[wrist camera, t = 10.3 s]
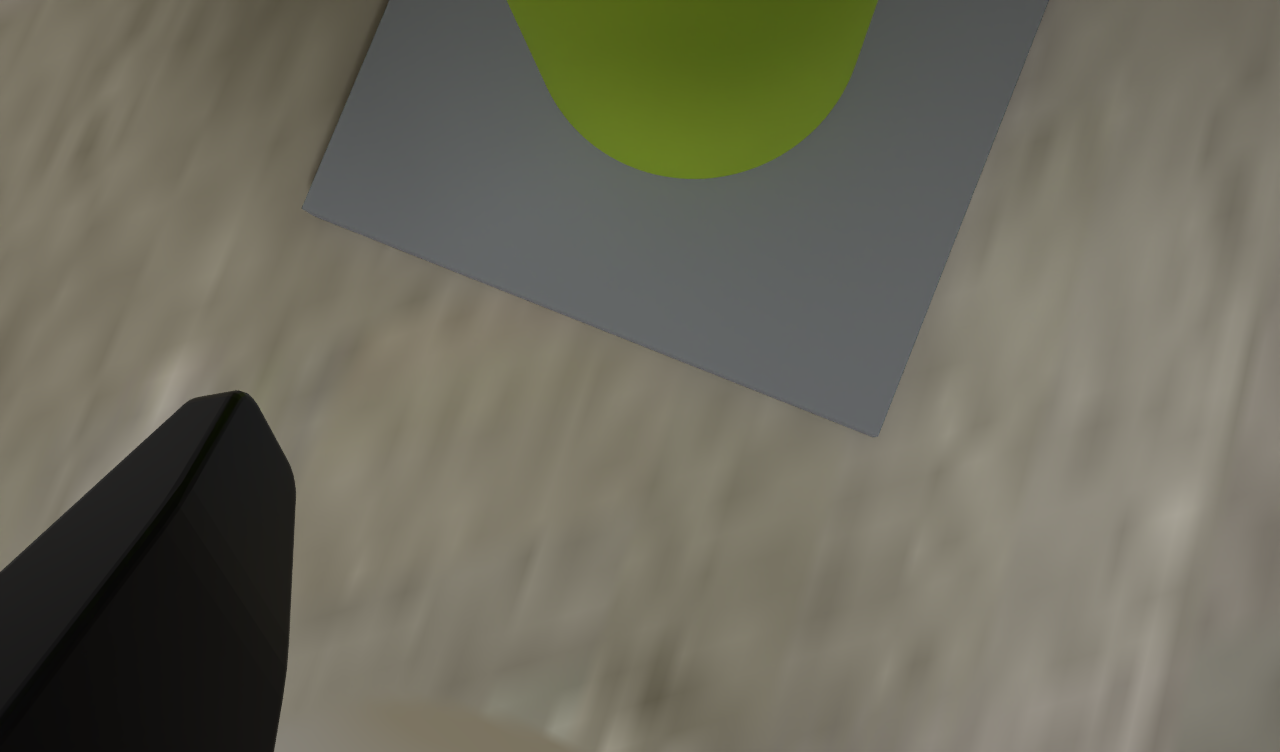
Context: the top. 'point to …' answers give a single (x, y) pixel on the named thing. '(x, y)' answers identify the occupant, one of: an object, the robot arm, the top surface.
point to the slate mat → (688, 196)
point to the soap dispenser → (694, 75)
